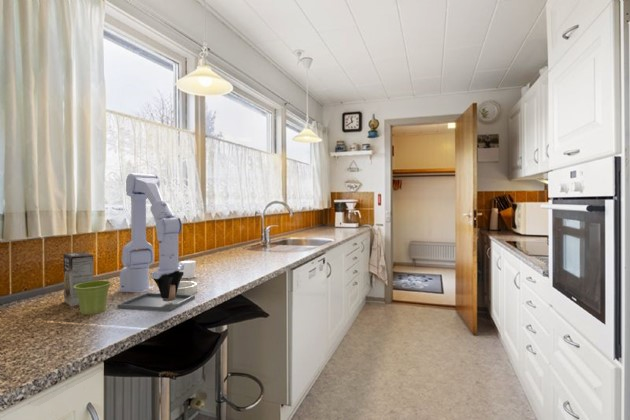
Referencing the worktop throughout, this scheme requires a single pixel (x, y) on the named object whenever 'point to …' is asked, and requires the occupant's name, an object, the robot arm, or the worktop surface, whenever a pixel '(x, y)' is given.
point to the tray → (155, 302)
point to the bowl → (187, 287)
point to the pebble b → (171, 293)
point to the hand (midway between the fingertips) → (169, 296)
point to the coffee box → (76, 274)
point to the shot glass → (188, 269)
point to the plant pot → (92, 296)
